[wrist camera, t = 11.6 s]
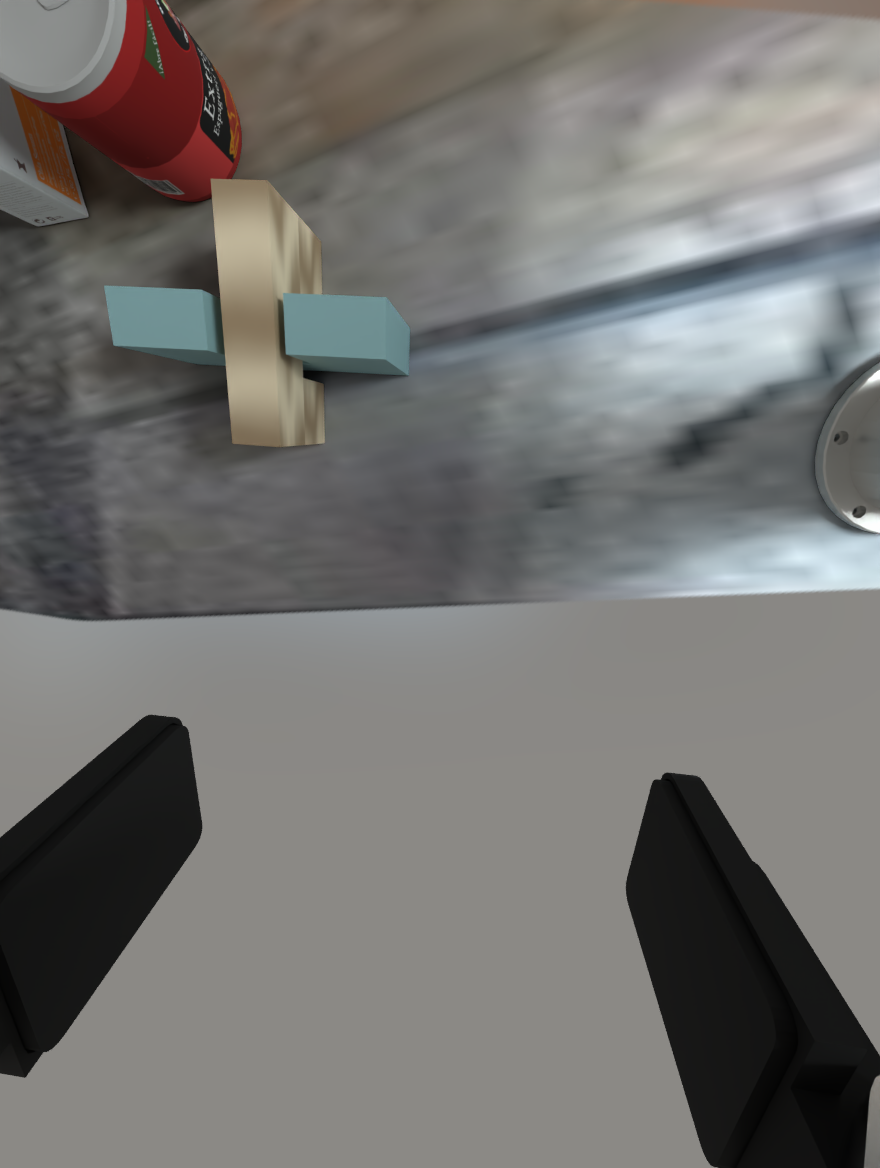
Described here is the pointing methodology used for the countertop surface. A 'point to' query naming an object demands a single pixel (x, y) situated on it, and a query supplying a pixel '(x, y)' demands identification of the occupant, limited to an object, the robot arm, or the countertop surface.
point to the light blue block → (312, 325)
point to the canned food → (126, 87)
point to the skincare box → (35, 164)
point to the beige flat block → (265, 313)
